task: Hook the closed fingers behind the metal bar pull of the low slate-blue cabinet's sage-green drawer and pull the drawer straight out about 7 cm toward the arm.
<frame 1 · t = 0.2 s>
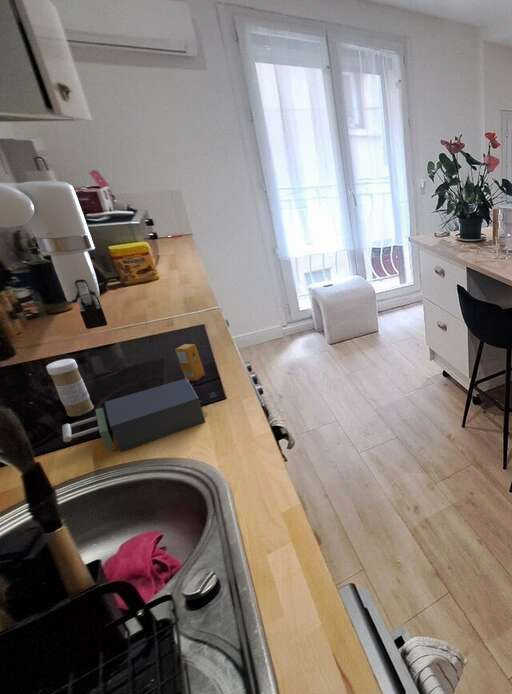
hand: (95, 320, 90), 25 cm above the counter, tool pointing down, fingers open, 9 cm apart
cabinet: (160, 424, 95), on the counter
supplement box: (195, 378, 114), on the counter
sprinkles bottle: (81, 412, 98), on the counter
drawer: (127, 421, 91), point 3 cm above the counter, slide at 0.5 cm
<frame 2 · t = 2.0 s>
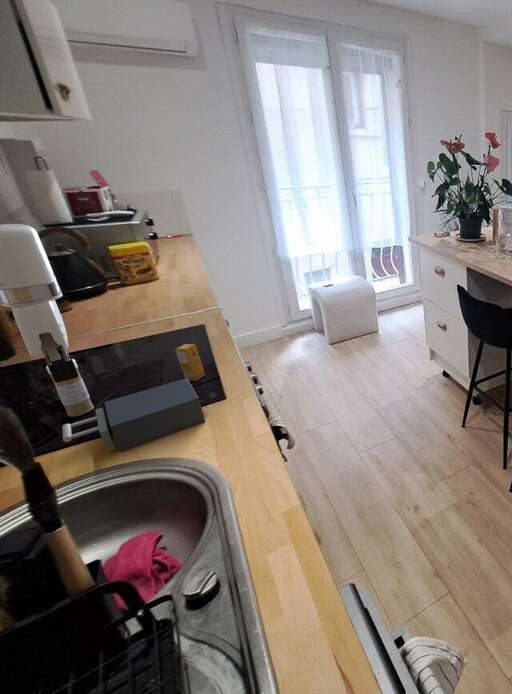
hand: (67, 378, 82), 17 cm above the counter, tool pointing down, fingers closed
nothing on the counter moved.
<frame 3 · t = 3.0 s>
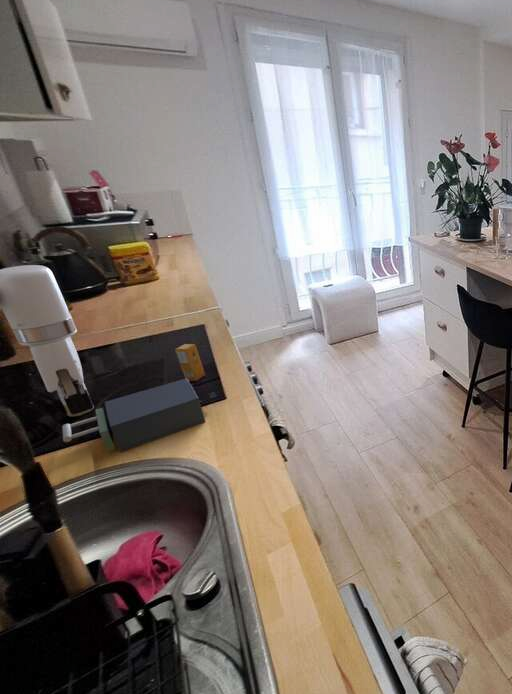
hand: (82, 409, 85), 9 cm above the counter, tool pointing down, fingers closed
nothing on the counter moved.
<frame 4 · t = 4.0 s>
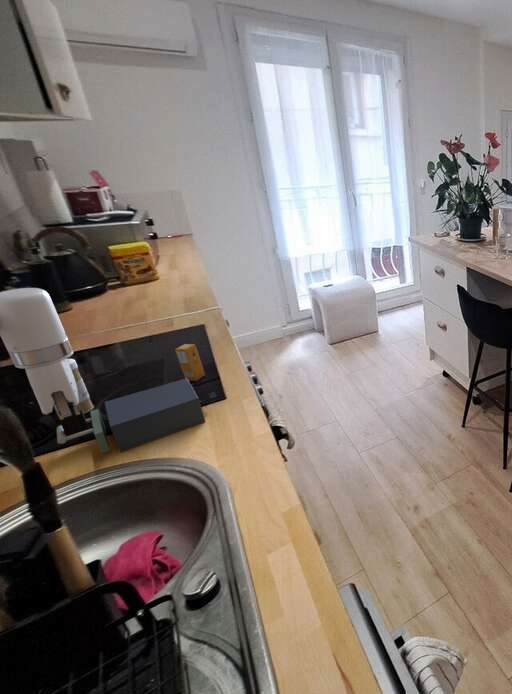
hand: (77, 430, 85), 5 cm above the counter, tool pointing down, fingers closed
drawer: (122, 422, 90), point 3 cm above the counter, slide at 1.3 cm, touching gripper
everything else where it was.
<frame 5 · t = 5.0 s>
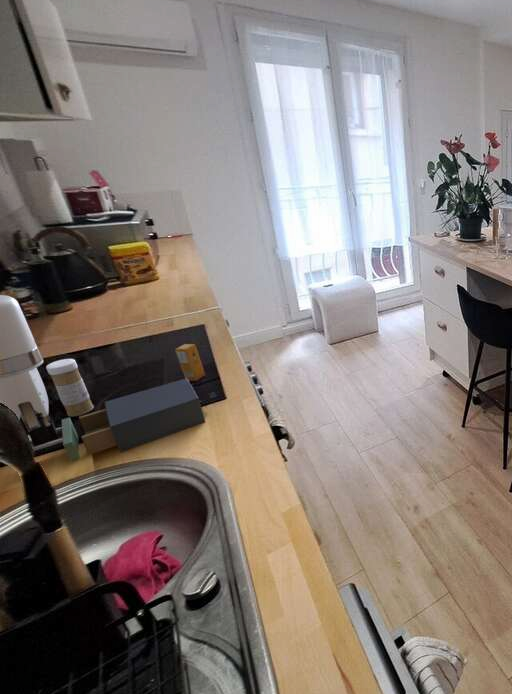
hand: (47, 442, 82), 4 cm above the counter, tool pointing down, fingers closed
drawer: (95, 431, 87), point 3 cm above the counter, slide at 5.6 cm, touching gripper
everything else where it was.
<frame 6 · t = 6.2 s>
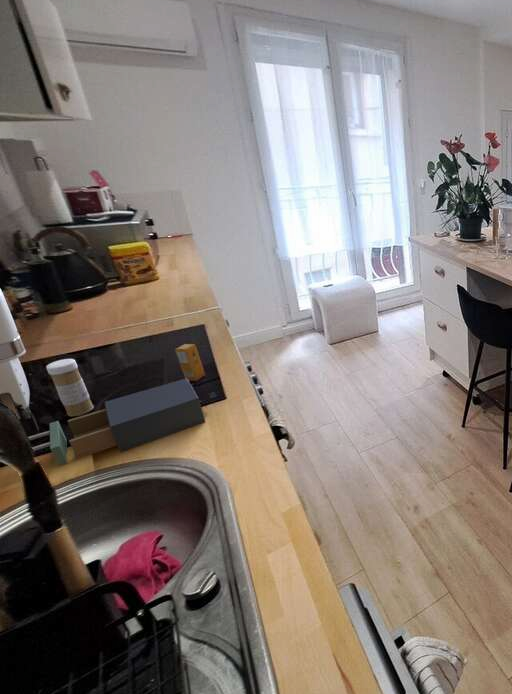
hand: (26, 435, 80), 7 cm above the counter, tool pointing down, fingers closed
drawer: (84, 435, 86), point 3 cm above the counter, slide at 7.2 cm
everything else where it was.
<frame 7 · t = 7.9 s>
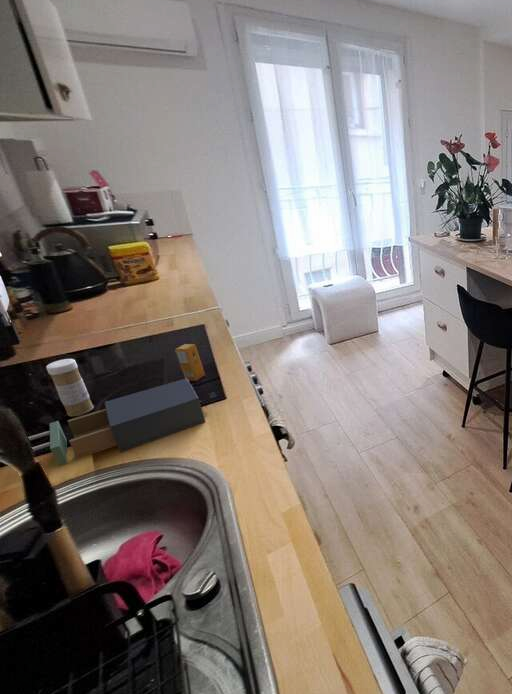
hand: (7, 344, 78), 25 cm above the counter, tool pointing down, fingers closed
nothing on the counter moved.
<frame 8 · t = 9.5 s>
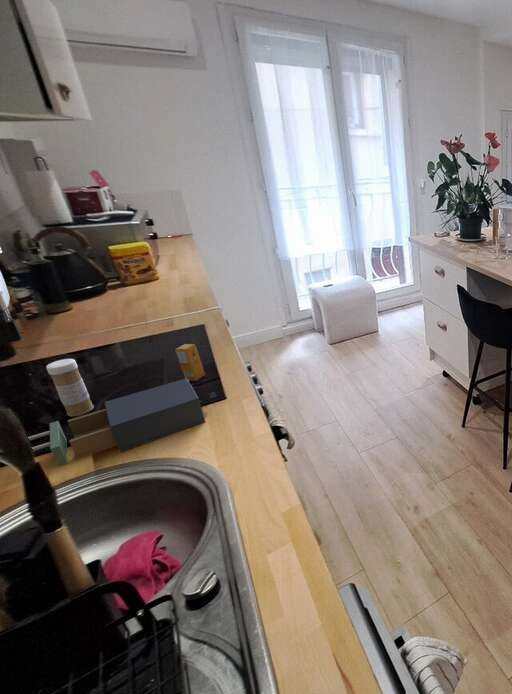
hand: (8, 341, 78), 25 cm above the counter, tool pointing down, fingers closed
nothing on the counter moved.
at the end: drawer slide at 7.2 cm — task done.
